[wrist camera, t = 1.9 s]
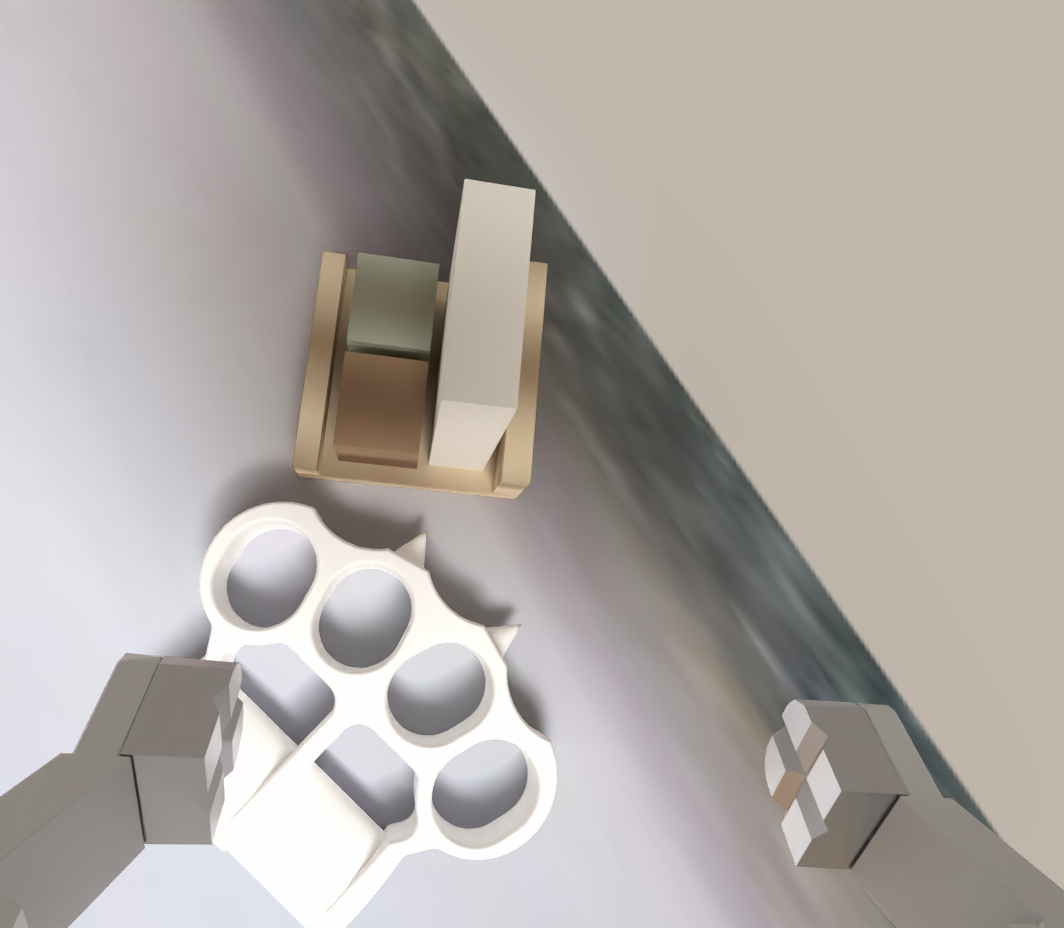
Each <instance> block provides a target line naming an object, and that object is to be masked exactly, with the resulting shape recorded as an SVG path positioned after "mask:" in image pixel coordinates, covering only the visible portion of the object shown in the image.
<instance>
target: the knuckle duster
mask: <svg viewBox="0 0 1064 928" xmlns="http://www.w3.org/2000/svg"><path fill="white" fill-rule="evenodd" d="M273 529H289V530H293V531H296V532H299V533H301V534H303V535H304V536H306V537H307V538H308V539H309V541H310V542H311V544H312V546H313V548H314V551H315V554H316V560H317V569H316V574H315V578H314V581H313V583H312V585H311V587H310V589H309V591H308V592H307V594H306V596H305V598H304V599H303V601H302V603H301V605H300V606H299V608H298V609H297V610H296V611H295V612H294V613H293V614H292V615H291V616H290V617H289V618H288V619H286V620H285V621H283V622H281V623H279V624H277V625H274V626H271V627H267V628H262V627H257V626H254V625H251V624H249V623H247V622H245V621H244V620H242V619H241V618H240V617H239V616H238V615H237V614H236V613H235V612H234V610H233V609H232V607H231V605H230V602H229V599H228V595H227V581H228V576H229V573H230V571H231V569H232V567H233V565H234V564H235V562H236V560H237V559H238V557H239V555H240V553H241V552H242V550H243V549H244V547H245V546H246V545H247V544H248V543H249V542H250V541H251V540H252V539H253V538H254V537H256V536H257V535H259V534H261V533H263V532H266V531H269V530H273ZM426 533H427V531H425V532H424V533H422V534H420V535H419V536H417V537H416V538H414V539H413V540H411V541H410V542H408V543H406V544H405V545H403V546H402V547H400V548H399V549H397V550H396V551H392V550H390V549H388V548H387V549H370V548H364V547H360V546H356V545H354V544H351V543H349V542H347V541H345V540H343V539H341V538H340V537H338V536H337V535H336V534H334V533H333V532H332V531H331V530H330V529H329V528H328V527H327V526H326V525H325V524H324V522H323V520H322V518H321V516H320V515H319V514H318V512H317V511H316V509H315V508H314V507H311V506H308V505H305V504H301V503H296V502H271V503H266V504H261V505H258V506H255V507H252V508H250V509H248V510H246V511H244V512H242V513H240V514H239V515H237V516H235V517H234V518H233V519H231V520H230V521H229V522H228V523H227V524H225V525H224V526H223V527H222V528H221V530H220V531H219V532H218V533H217V534H216V536H215V537H214V538H213V540H212V541H211V543H210V545H209V547H208V548H207V551H206V553H205V555H204V558H203V561H202V565H201V570H200V577H199V589H200V597H201V601H202V605H203V608H204V611H205V613H206V615H207V617H208V619H209V621H210V623H211V633H210V637H209V642H208V647H207V651H206V655H205V656H204V657H202V658H201V659H203V660H214V661H224V662H234V660H235V655H236V653H237V651H238V650H239V649H240V648H241V647H242V646H243V645H245V644H247V645H266V644H272V643H284V644H286V645H288V646H289V647H290V648H291V649H292V650H293V651H294V652H295V653H296V654H297V655H298V656H299V657H300V658H301V659H302V660H303V661H304V662H305V663H306V664H307V665H308V666H309V667H310V668H311V669H312V670H313V671H314V672H315V673H316V674H317V675H318V676H319V677H320V678H321V679H322V680H323V681H324V682H325V683H326V684H327V685H328V686H329V687H330V688H331V689H332V691H333V693H334V697H335V704H334V708H333V710H332V711H331V712H330V713H329V714H328V715H327V716H326V717H325V718H324V719H323V720H322V721H321V722H320V723H319V725H318V726H317V727H316V728H315V729H314V730H313V731H312V732H311V733H310V734H309V735H308V736H307V737H306V738H305V739H304V740H303V741H302V742H301V743H300V744H299V745H298V746H297V745H296V744H295V743H294V742H293V741H292V740H291V739H290V738H289V737H288V736H287V735H286V734H285V733H284V732H283V731H282V730H281V729H280V728H279V727H278V726H277V725H276V724H275V723H274V722H273V721H272V720H271V719H270V718H269V717H268V716H267V715H266V714H265V713H264V712H263V711H262V710H261V709H260V708H259V707H258V706H257V705H256V704H255V703H254V702H253V701H252V700H251V699H250V698H249V697H248V696H247V695H246V694H245V693H244V692H243V691H242V690H241V689H240V690H239V694H238V698H239V699H240V700H241V701H242V702H243V711H244V716H243V730H242V735H241V741H240V746H239V752H238V756H237V759H236V763H235V767H234V770H233V771H232V772H231V773H230V774H229V775H228V776H226V777H225V778H224V788H225V801H224V805H223V808H222V812H221V815H220V818H219V822H218V825H217V829H216V832H215V835H214V839H213V842H214V843H215V844H216V845H217V846H218V847H219V848H220V849H221V850H222V851H225V850H228V851H229V852H230V853H231V854H232V855H233V856H234V857H235V858H236V859H237V860H238V861H239V862H240V863H241V864H242V865H243V866H244V867H245V868H246V869H247V870H248V871H249V872H250V873H251V874H252V875H253V876H254V877H255V878H256V879H257V880H258V881H259V882H260V883H261V884H262V885H263V886H264V887H265V888H266V889H267V890H268V891H269V892H270V893H271V894H272V895H273V896H274V897H275V898H276V899H277V900H278V901H279V902H280V903H281V904H282V905H283V906H284V907H285V908H286V909H287V910H288V911H289V912H290V913H291V914H292V915H293V916H294V917H295V918H296V919H297V920H298V921H299V922H300V923H301V924H302V925H303V926H304V927H305V928H344V927H345V926H346V925H347V924H348V923H349V922H350V921H351V920H352V919H353V918H354V917H355V916H356V915H357V914H358V913H359V912H360V910H361V909H362V908H363V907H364V906H365V905H366V904H367V902H368V901H369V900H370V899H371V898H372V897H373V895H374V894H375V893H376V892H377V890H378V889H379V888H380V887H381V885H382V884H383V883H384V882H385V880H386V879H387V878H388V876H389V875H390V874H391V872H392V871H393V870H394V868H395V867H396V865H397V864H398V862H399V861H400V860H401V859H402V857H403V856H405V855H407V854H411V853H415V852H419V851H423V850H428V849H432V848H438V849H440V850H442V851H444V852H446V853H448V854H450V855H453V856H456V857H460V858H464V859H473V860H481V859H490V858H495V857H498V856H501V855H504V854H507V853H509V852H511V851H513V850H515V849H516V848H518V847H519V846H521V845H522V844H524V843H525V842H526V841H527V840H528V839H530V838H531V837H532V836H533V835H534V834H535V832H536V831H537V830H538V829H539V828H540V826H541V825H542V823H543V822H544V820H545V819H546V817H547V815H548V813H549V811H550V809H551V806H552V803H553V800H554V797H555V793H556V787H557V761H556V756H555V752H554V749H553V746H552V743H551V741H550V739H548V738H547V737H546V736H544V735H543V734H542V733H540V732H539V731H537V730H535V729H533V728H531V727H530V726H529V725H528V724H527V723H526V722H525V721H524V720H523V718H522V717H521V716H520V714H519V713H518V711H517V709H516V708H515V706H514V703H513V701H512V698H511V695H510V692H509V687H508V680H507V664H506V662H505V661H504V659H503V656H504V654H505V652H506V650H507V649H508V647H509V645H510V644H511V642H512V640H513V638H514V637H515V635H516V633H517V632H518V630H519V628H520V626H521V625H522V624H517V625H508V626H498V627H488V628H485V626H484V625H482V624H478V623H475V622H472V621H470V620H467V619H465V618H463V617H462V616H460V615H458V614H457V613H456V612H454V611H453V610H452V609H451V608H450V607H448V605H447V604H446V603H445V602H444V601H443V600H442V598H441V597H440V596H439V594H438V592H437V591H436V589H435V587H434V585H433V582H432V579H431V576H430V572H429V571H428V570H426V569H424V561H425V547H426ZM369 568H373V569H380V570H384V571H387V572H389V573H391V574H392V575H394V576H395V577H397V578H398V579H399V580H400V581H401V582H402V583H403V585H404V586H405V588H406V589H407V591H408V594H409V597H410V600H411V617H410V621H409V624H408V626H407V628H406V630H405V632H404V634H403V636H402V638H401V640H400V642H399V644H398V645H397V647H396V649H395V650H394V651H393V653H392V654H391V655H390V656H389V657H387V658H386V659H385V660H383V661H382V662H380V663H378V664H376V665H373V666H370V667H364V668H355V667H349V666H346V665H343V664H341V663H339V662H338V661H336V660H335V659H333V658H332V657H331V656H330V655H329V654H328V652H327V651H326V650H325V648H324V646H323V644H322V642H321V639H320V634H319V620H320V616H321V613H322V610H323V608H324V606H325V604H326V603H327V601H328V599H329V597H330V595H331V594H332V592H333V590H334V588H335V587H336V586H337V584H338V583H339V582H340V581H341V580H342V579H343V578H345V577H346V576H347V575H349V574H351V573H353V572H355V571H358V570H362V569H369ZM448 642H451V643H459V644H461V645H463V646H465V647H467V648H468V649H470V650H471V651H472V652H473V653H474V654H475V655H476V656H477V658H478V659H479V661H480V662H481V664H482V667H483V670H484V674H485V691H484V695H483V698H482V701H481V703H480V704H479V706H478V708H477V709H476V710H475V712H474V713H473V714H472V715H471V716H469V717H468V718H467V719H465V720H464V721H462V722H461V723H459V724H457V725H456V726H454V727H452V728H451V729H449V730H447V731H445V732H443V733H440V734H436V735H419V734H415V733H412V732H410V731H408V730H406V729H405V728H403V727H402V726H401V725H400V724H399V723H398V722H397V721H396V719H395V718H394V716H393V715H392V713H391V711H390V708H389V704H388V698H387V692H388V687H389V684H390V681H391V679H392V677H393V675H394V673H395V672H396V671H397V669H398V668H399V667H400V666H401V665H402V664H403V663H404V662H405V661H407V660H408V659H410V658H411V657H413V656H415V655H417V654H418V653H420V652H422V651H424V650H425V649H427V648H429V647H431V646H433V645H436V644H440V643H448ZM354 724H364V725H367V726H369V727H371V728H372V729H373V730H374V731H375V732H376V733H377V734H378V735H379V736H380V737H381V738H382V739H383V740H384V741H385V742H386V743H387V744H388V745H389V746H390V747H391V748H392V749H393V750H394V751H395V752H396V753H397V754H398V755H399V756H400V757H401V758H402V759H403V760H404V761H405V762H406V763H407V764H408V765H409V766H410V767H411V768H412V769H413V770H414V771H415V777H414V799H415V808H414V811H413V813H412V815H411V816H410V817H409V818H408V819H406V820H404V821H402V822H398V823H394V824H389V825H388V826H387V827H386V828H385V829H384V830H382V829H381V828H380V827H379V826H378V825H377V824H376V823H375V822H374V821H373V820H372V819H371V818H370V817H369V816H368V815H367V814H366V813H365V812H364V811H363V810H362V809H361V808H360V807H359V806H358V805H357V804H356V803H355V802H354V801H353V800H352V799H351V798H350V797H349V796H348V795H347V794H346V793H345V792H344V791H343V790H342V789H341V788H340V787H339V786H338V785H337V784H336V783H335V782H334V781H333V780H332V779H331V778H330V777H329V776H328V775H327V774H326V773H325V772H324V771H323V770H322V769H321V768H320V767H319V766H318V765H317V764H315V763H314V761H315V760H316V759H317V758H318V757H319V756H320V754H321V753H322V752H323V751H324V750H325V749H326V748H327V747H328V746H329V745H330V744H331V743H332V742H333V741H334V740H335V739H336V738H337V737H338V736H339V735H340V734H341V732H342V731H343V730H345V729H346V728H347V727H349V726H351V725H354ZM488 739H502V740H506V741H509V742H512V743H514V744H516V745H517V746H519V747H520V749H521V750H522V752H523V754H524V757H525V759H526V763H527V770H528V776H527V783H526V787H525V790H524V793H523V795H522V796H521V798H520V800H519V801H518V802H517V804H516V805H515V806H514V807H513V808H512V809H511V810H509V811H508V812H506V813H505V814H503V815H502V816H500V817H499V818H497V819H496V820H494V821H492V822H491V823H489V824H487V825H485V826H482V827H479V828H474V829H465V828H459V827H456V826H454V825H452V824H450V823H448V822H447V821H445V820H444V819H443V818H442V817H441V816H440V815H439V814H438V812H437V811H436V809H435V808H434V806H433V803H432V791H433V786H434V783H435V780H436V778H437V776H438V774H439V772H440V770H441V769H442V768H443V766H444V765H445V764H446V763H447V762H448V761H449V760H450V759H452V758H453V757H454V756H456V755H457V754H459V753H461V752H462V751H464V750H466V749H467V748H469V747H471V746H472V745H474V744H476V743H478V742H481V741H484V740H488Z"/></svg>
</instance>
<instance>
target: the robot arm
mask: <svg viewBox="0 0 1064 928" xmlns="http://www.w3.org/2000/svg"><path fill="white" fill-rule="evenodd" d="M241 684H242V669H241V664H240V663H235V662H224V661H214V660H203V659H192V658H181V657H170V656H155V655H143V654H131V653H126V654H125V655H124V656H123V657H122V658H121V659H120V660H119V661H118V662H117V664H116V666H115V668H114V670H113V672H112V674H111V677H110V679H109V681H108V683H107V685H106V687H105V689H104V691H103V693H102V695H101V697H100V699H99V701H98V703H97V705H96V707H95V709H94V711H93V713H92V715H91V717H90V719H89V721H88V723H87V725H86V727H85V729H84V731H83V733H82V735H81V737H80V739H79V741H78V743H77V745H76V748H75V750H74V752H73V753H60V754H59V755H57V756H56V757H55V758H53V759H52V760H50V761H49V762H48V763H46V764H45V765H43V766H42V767H41V768H39V769H38V770H36V771H35V772H34V773H32V774H31V775H30V776H28V777H27V778H25V779H24V780H23V781H21V782H20V783H18V784H17V785H16V786H14V787H13V788H11V789H10V790H9V791H7V792H6V793H5V794H3V795H2V796H0V928H68V927H69V926H70V925H71V924H72V923H73V922H74V920H75V919H76V918H77V917H78V916H79V915H80V914H81V913H82V912H83V911H84V910H85V909H86V908H87V907H88V906H89V905H90V904H91V903H92V902H93V901H94V900H95V899H96V898H97V897H98V896H99V895H100V894H101V893H102V892H103V891H104V890H105V888H106V887H107V886H108V885H109V884H110V883H111V882H112V881H113V880H114V879H115V878H116V877H117V876H118V875H119V874H120V873H121V872H122V871H123V870H124V869H125V868H126V867H127V866H128V865H129V864H130V863H131V862H132V861H133V860H134V859H135V858H136V856H137V855H138V854H139V853H140V852H141V851H142V850H143V849H144V848H145V846H144V844H210V845H212V842H213V839H214V835H215V832H216V829H217V825H218V822H219V818H220V815H221V812H222V808H223V805H224V801H225V788H224V778H225V777H226V776H228V775H229V774H230V773H231V772H232V771H233V770H234V767H235V763H236V759H237V756H238V752H239V746H240V741H241V735H242V730H243V716H244V711H243V702H242V701H241V700H240V699H239V698H238V694H239V690H240V687H241ZM782 717H783V719H784V722H785V724H786V726H785V727H784V728H782V729H781V730H779V731H778V732H776V733H775V734H773V735H772V737H771V739H770V742H769V744H768V746H767V749H766V757H765V773H766V779H767V784H768V787H769V790H770V793H771V796H772V798H773V799H774V800H775V801H776V802H777V803H778V804H779V805H780V806H781V807H783V808H784V809H785V810H786V813H785V816H784V818H783V821H782V824H781V825H782V828H783V831H784V834H785V836H786V839H787V842H788V845H789V848H790V851H791V853H792V856H793V859H794V862H795V865H796V866H800V867H815V868H830V869H845V870H851V871H850V872H849V873H850V874H851V875H852V877H853V878H854V879H855V880H856V881H857V882H858V884H859V885H860V886H861V887H862V888H863V889H864V891H865V892H866V893H867V894H868V895H869V896H870V897H871V899H872V900H873V901H874V902H875V903H876V904H877V906H878V907H879V908H880V909H881V910H882V911H883V913H884V914H885V915H886V916H887V917H888V918H889V920H890V921H891V922H892V923H893V924H894V925H895V927H896V928H1064V890H1063V889H1061V888H1060V887H1059V886H1058V885H1056V884H1055V883H1054V882H1053V881H1052V880H1050V879H1049V878H1048V877H1047V876H1045V875H1044V874H1043V873H1042V872H1041V871H1039V870H1038V869H1037V868H1036V867H1034V866H1033V865H1032V864H1031V863H1029V862H1028V861H1027V860H1026V859H1025V858H1024V857H1022V856H1021V855H1020V854H1019V853H1017V852H1016V851H1015V850H1014V849H1013V848H1011V847H1010V846H1009V845H1008V844H1007V843H1005V842H1004V841H1003V840H1002V839H1000V838H999V837H998V836H997V835H996V834H994V833H993V832H992V831H991V830H989V829H988V828H987V827H986V826H985V825H983V824H982V823H981V822H980V821H978V820H977V819H976V818H975V817H974V816H972V815H971V814H970V813H969V812H968V811H966V810H965V809H964V808H963V807H961V806H960V805H959V804H958V803H957V802H955V801H954V800H953V799H949V798H943V797H942V796H941V794H940V792H939V790H938V788H937V786H936V785H935V783H934V781H933V779H932V777H931V776H930V774H929V772H928V770H927V768H926V766H925V765H924V763H923V761H922V759H921V757H920V756H919V754H918V752H917V750H916V748H915V746H914V745H913V743H912V741H911V739H910V737H909V736H908V734H907V732H906V730H905V728H904V726H903V725H902V723H901V721H900V719H899V717H898V716H897V714H896V712H895V711H894V710H893V709H892V708H890V707H889V706H888V705H874V704H858V703H857V704H854V703H848V702H830V701H812V700H794V701H792V702H791V703H789V704H788V705H787V707H786V709H785V711H784V713H783V715H782Z"/></svg>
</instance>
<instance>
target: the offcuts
mask: <svg viewBox="0 0 1064 928" xmlns="http://www.w3.org/2000/svg"><path fill="white" fill-rule="evenodd" d="M439 265H440V264H437V263H430V262H423V261H416V260H409V259H402V258H395V257H388V256H381V255H374V254H367V253H361V252H358V258H357V265H356V273H355V281H354V288H353V296H352V303H351V311H350V318H349V326H348V333H347V345H348V351H349V352H348V351H345V356H344V364H343V371H342V379H341V386H340V394H339V401H338V409H337V416H336V424H335V432H334V439H333V446H334V448H335V451H336V454H337V457H338V460H339V461H346V462H355V463H365V464H374V465H383V466H393V467H402V468H411V469H417V464H418V457H419V448H420V439H421V430H422V421H423V412H424V402H425V393H426V384H427V375H428V366H429V356H430V347H431V338H432V329H433V320H434V311H435V302H436V292H437V283H438V274H439Z"/></svg>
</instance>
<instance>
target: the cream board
mask: <svg viewBox="0 0 1064 928" xmlns="http://www.w3.org/2000/svg"><path fill="white" fill-rule="evenodd" d="M535 191H536V190H532V189H526V188H520V187H513V186H507V185H501V184H495V183H488V182H482V181H476V180H470V179H465V180H464V187H463V193H462V200H461V206H460V212H459V219H458V225H457V232H456V238H455V245H454V251H453V258H452V264H451V271H450V277H449V284H448V290H447V297H446V304H445V313H444V323H443V332H442V341H441V351H440V360H439V370H438V379H437V388H436V398H435V407H434V417H433V426H432V435H431V445H430V454H429V464H428V465H434V466H443V467H452V468H461V469H471V470H480V471H483V469H484V467H485V465H486V464H487V462H488V460H489V458H490V457H491V455H492V453H493V451H494V449H495V448H496V446H497V444H498V442H499V441H500V439H501V437H502V435H503V433H504V432H505V430H506V428H507V426H508V424H509V423H510V421H511V419H512V417H513V416H514V414H515V412H516V410H517V406H518V394H519V382H520V370H521V358H522V346H523V334H524V322H525V310H526V298H527V287H528V275H529V263H530V251H531V239H532V227H533V215H534V203H535Z"/></svg>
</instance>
